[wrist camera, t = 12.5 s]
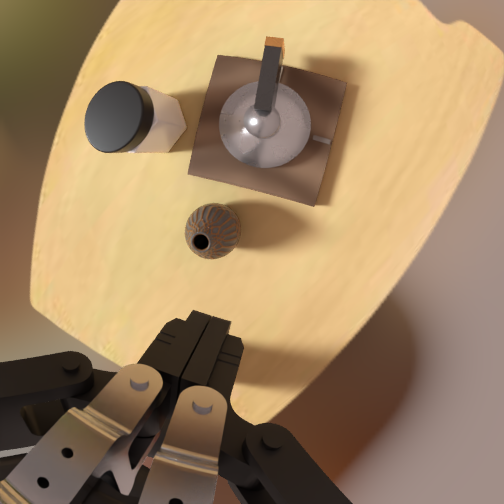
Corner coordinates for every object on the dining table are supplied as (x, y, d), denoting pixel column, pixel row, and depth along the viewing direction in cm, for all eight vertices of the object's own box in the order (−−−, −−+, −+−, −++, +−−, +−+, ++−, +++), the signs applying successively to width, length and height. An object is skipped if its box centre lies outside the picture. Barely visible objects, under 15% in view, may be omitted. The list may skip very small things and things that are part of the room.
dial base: (313, 205, 37) (314, 207, 35) (191, 173, 38) (186, 174, 36) (344, 85, 31) (347, 82, 30) (220, 58, 32) (217, 54, 31)
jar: (159, 85, 34) (113, 65, 23) (198, 115, 35) (160, 100, 24) (123, 134, 37) (71, 131, 26) (159, 165, 38) (112, 171, 27)
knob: (302, 175, 34) (303, 177, 29) (215, 160, 35) (202, 161, 30) (320, 61, 29) (325, 45, 24) (235, 49, 30) (225, 33, 25)
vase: (238, 195, 38) (223, 205, 30) (249, 244, 40) (237, 267, 32) (191, 205, 39) (165, 218, 31) (202, 251, 41) (181, 275, 33)
